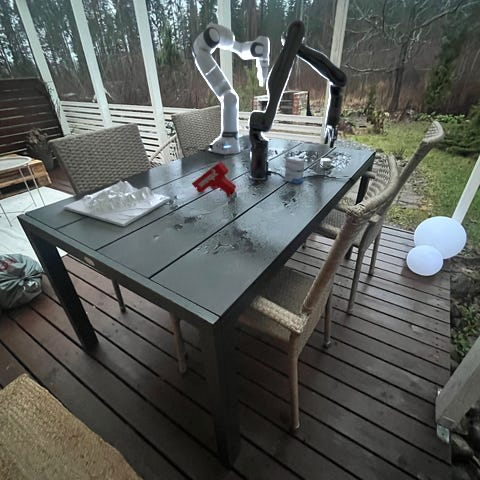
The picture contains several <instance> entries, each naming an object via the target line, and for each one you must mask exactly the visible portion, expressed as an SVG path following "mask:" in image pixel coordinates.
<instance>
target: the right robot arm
mask: <svg viewBox="0 0 480 480" xmlns="http://www.w3.org/2000/svg"><path fill="white" fill-rule="evenodd" d="M306 33H307V30H306V24H305V22H304V21H303V20H302V19H295V20H293V21H291V22H290V23H289V24H288V25H287V27H286V28H285V30H284V31H283V32H282V34H281V43H282V45H283V46H282V48H281V50H280V52H279V54H278V55H277V57H276V59H275V60H274V63H273V65H272V67H271V69H270V71H269V73H268V76H267V79H266V90H267V97H268V102H267V105H266V108H265V110H264V111H263V110H253V111H252V112H251V113H250V115H249V118H248V138H249V142H250V155H249V157H250V158H249V160H250V161H249V165H250V166H249V167H250V168H249V178H250V180H253V181H256V182H257V181H265V180H268V179H269V177H270V176H271V177H272V174H274V175H277V176H279V177H281V178H282V179H284V180H285V175H283V174H281V173H279V172H277V171H273V170H272V168H269V142H270V141H269V139H268V138H267V137H265V135H264V134H263V133H269V132H270V131H271V129H272V128H273V126H274V124H275V123H274V122H275V119H276V116H277V111H278V108H279V105H280V102H281V99H282V97H283V93H284V91H285V89H286V86H287V84H288V81H289V77H290V75H291V72H292V69H293V66H294V63H295V60H296V57H298V58H300V59H301V60H303V61H304V62H306V63H307V64H308V65H310V66H311V67H312V69H314V70H315V71H316V72H317V73H318V74H319V75H320V76H322V77H323V78H325V79H327V80H328V81H329V98H328V104H327V109H326V114H325V121H324V130H323V134H322V135H323V138H324V140H323V145H328V148H329V149H333V148H334V145H335V142H336V141H337V140H338V133H339V129H338V128H337V127H338V126H339V125H340V122H341V116H342V106H343V101H344V95H343V89H344V88H346V86H347V85H348V83H349V77H348V74H346V72H344V71H343V70H342V69H341V68H340V67H338V66H337V65H335V64H334V62H333V61H332V60H331V59H330V58H329V57H327V55H326V54H324V53H323V52H321V51H318V50H315V49H313V48H311V47H309V46H308V45H306V43H304V40H305V38H306ZM312 175H313V176H310V175H305V176H303V180H304V179H307V178H315V177H322V178H328V179H333V180H334V179H335V180H339V179H341V178H336V177H337V176H331V177H329V176H330V175H327V176H325V175H326V174H312ZM306 176H307V177H306ZM343 177H349V176H348V175H343ZM348 180H350V181H353V178H352V177H350V178H348Z"/></svg>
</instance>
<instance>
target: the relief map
mask: <svg viewBox="0 0 480 480" xmlns="http://www.w3.org/2000/svg"><path fill="white" fill-rule="evenodd" d="M170 200H171V197H170V196H168V195H163V194H157V193H155V192H154V191H153V190H151V189H150V187H147V186H143V187H141V188H139V189H138V188H137V187H134V186H132V185H131V183H129V182H128V181H125V180H124V181H122V180H121V179H120V180H119V181H118V182H117V183H115V184H112V185H111V186H109V187H106V188H104V189H102V190H99V191H97V192H95V193H91V194H85V195H84V196H83V197H82V198H81V199H78V200H76V201H73V202H71V203H68V204H66V205H64V206H63V208H64V210H67V211H70V212H72V213H73V212H74V213H77V214H79V215H83V216H87V217H90V218H93V219H97V220H100V221H104V222H107V223H111V224H114V225H117V226H120V227H126V226H128V225H129V224H131V223H133V222H135V221H137V220H138V219H140V218H142V217H143V216H145V215H147V214H148V213H150V212H152V211H154V210H155V209H157V208H159V207H160V206H162V205H164V204H166V203H168V202H169V201H170Z"/></svg>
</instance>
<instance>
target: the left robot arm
mask: <svg viewBox="0 0 480 480" xmlns="http://www.w3.org/2000/svg"><path fill="white" fill-rule="evenodd" d="M190 48H191V53H192V56H193V57H194V60H195V61H194V62H195V64H196V67H197V69H198V70H199V72H200V74H201V75H202V77H203V78H204V80H205V81H206V83H207V84H208V86H209V88H210V89H211V90H212V91H213V93H214V94H215V95H216V97H217V98H218V100H219V101H220V105H221V112H220V113H221V130H220V131H219V132H218V135H219V136H218V137H217V138H215V140H213V142H211V143H209V144H208V145H206V146H205V148H204V149H202V148H201V149H200V147H198V146H192V145H191V146H188V147H186V148H185V150H188V149H191V148H192V149H197V151H201V152H202V151H203V152H204V151H206V150H207V148H209V149H208V151H209V152H210V153H215V154H220V155H232V154H233V155H234V154H238V153H241V147H240V131H239V96H238V93H236V91H235V90H234V88H233V87H232V85H231V84H230V82H229V80H228V78H227V77H226V76H225V73H224V72H223V71H222V69H221V68H220V66H219V65H218V63H217V61H216V60H215V59H214V58H213V56H212V53H213V52H214V51H215V50H216V49H217V48H221V49H223V50H229V51H231V52H233V53H235V54H237V55H238V56H239V57H240V59H242V60H253V59H254V60H255V59H256V66H255V67H256V68H257V79H258V81H259V86H260V87H265V82H266V80H268V75H269V73H268V71H269V67H270V56H269V55H270V39H269V37H268V36H266V35H259V36H258V37H257V38H255V39H254V40H253V41H244V42H239V41H237V40H235V33H234V32H233V31H232V29H230V28H228V27H226V26H224V25H222V24H218V23H213V22H211V23H208V24H207V26H206V28H205V29H204V30H203V31H202V32H201V33H200V34H199V35H198V36H197V37H196V38H195V40H194V41H193V42H192V44H191V47H190Z"/></svg>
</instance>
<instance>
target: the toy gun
mask: <svg viewBox="0 0 480 480" xmlns="http://www.w3.org/2000/svg"><path fill="white" fill-rule="evenodd" d="M228 173H229V169H228V168H227V166H226V165H225V164H224V163H223V162H222V161H219V162H217V163H216V164H214V166H212V167H211V168H210V169H209V170H207V171H206V172H204V173H203V174H202V175H201V176H199V177H198V178H197V179H196V180H194V181H193V182H192V183H191V184H192V186H193V187H194V189H195V190H196V191H197V193H199V194H201V193H203V192H204V191H205V190H207V189H208V188H210V189H211V190H213V191H215V190H216V189H218V188H219V189H220V190H222V191H223V192H224V193H225V194H226V196H227V197H229V196H230V195H233V194H235V192H236V188H237V186H236V184H235V183H233V182H232V181H230V180H229V179H228V178H227V177H226V175H227V174H228Z"/></svg>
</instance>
